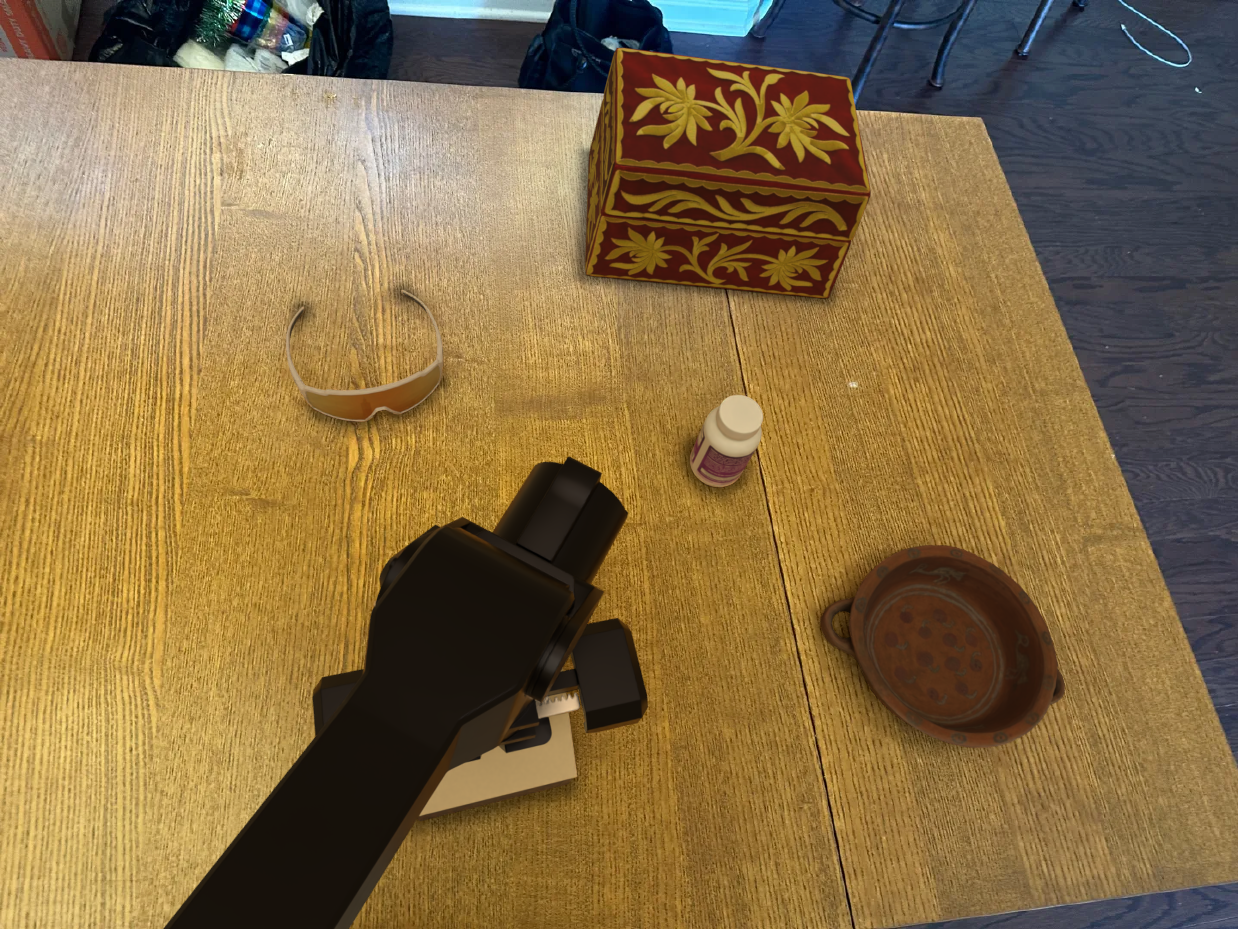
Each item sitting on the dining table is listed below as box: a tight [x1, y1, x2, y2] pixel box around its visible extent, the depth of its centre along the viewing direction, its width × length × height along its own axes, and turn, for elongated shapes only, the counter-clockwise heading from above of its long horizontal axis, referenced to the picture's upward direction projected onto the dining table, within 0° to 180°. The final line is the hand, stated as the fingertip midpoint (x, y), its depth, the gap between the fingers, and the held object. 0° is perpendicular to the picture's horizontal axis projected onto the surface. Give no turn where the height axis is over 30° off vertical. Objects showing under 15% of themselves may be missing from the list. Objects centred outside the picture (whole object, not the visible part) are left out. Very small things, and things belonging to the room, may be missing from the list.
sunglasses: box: [285, 289, 444, 423], centre depth 78 cm, size 14×15×5 cm
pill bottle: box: [689, 394, 764, 488], centre depth 75 cm, size 5×5×10 cm
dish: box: [819, 544, 1066, 749], centre depth 71 cm, size 18×22×5 cm
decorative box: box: [584, 47, 872, 299], centre depth 87 cm, size 28×19×15 cm
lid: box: [373, 600, 578, 816], centre depth 55 cm, size 15×12×1 cm
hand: (486, 724), depth 55 cm, fingers closed
